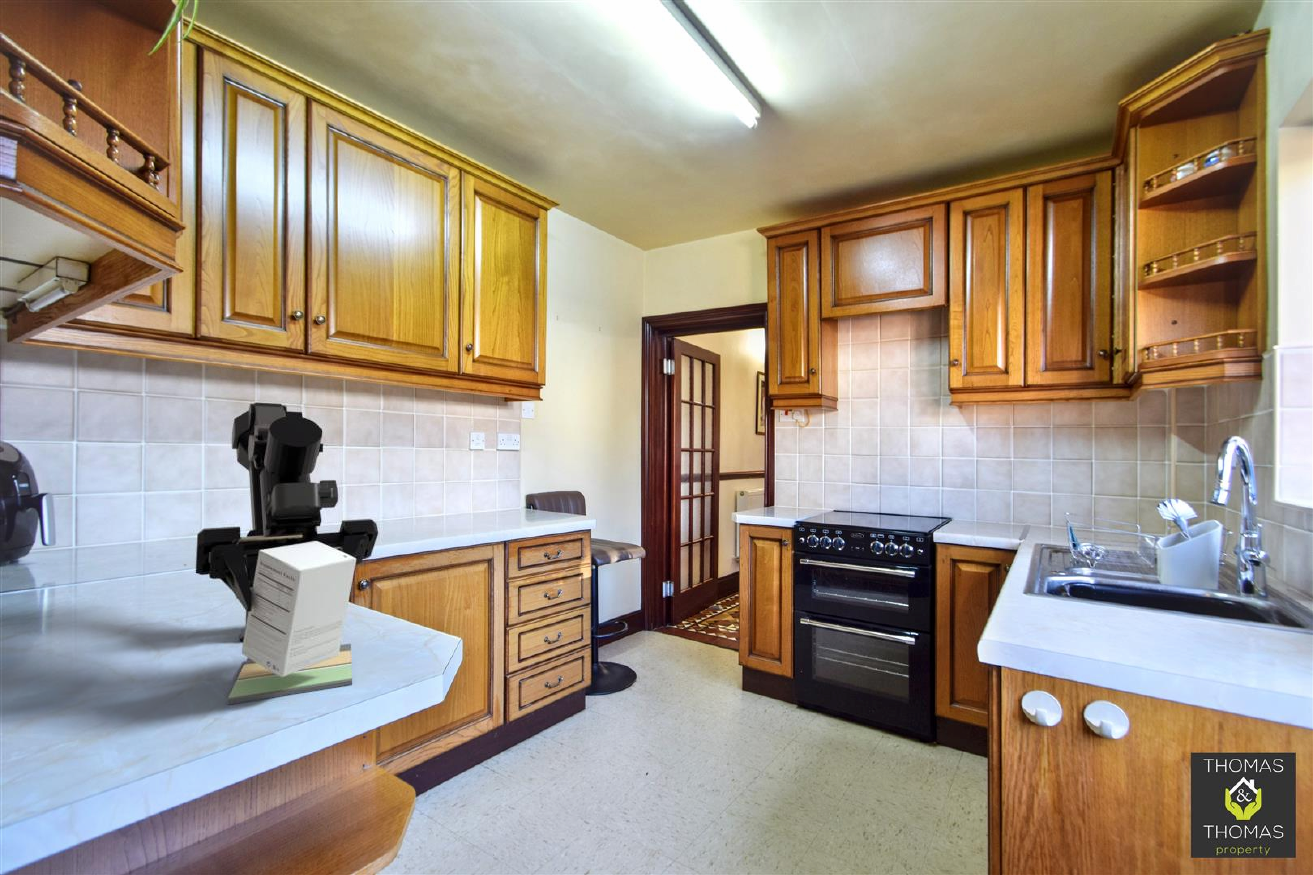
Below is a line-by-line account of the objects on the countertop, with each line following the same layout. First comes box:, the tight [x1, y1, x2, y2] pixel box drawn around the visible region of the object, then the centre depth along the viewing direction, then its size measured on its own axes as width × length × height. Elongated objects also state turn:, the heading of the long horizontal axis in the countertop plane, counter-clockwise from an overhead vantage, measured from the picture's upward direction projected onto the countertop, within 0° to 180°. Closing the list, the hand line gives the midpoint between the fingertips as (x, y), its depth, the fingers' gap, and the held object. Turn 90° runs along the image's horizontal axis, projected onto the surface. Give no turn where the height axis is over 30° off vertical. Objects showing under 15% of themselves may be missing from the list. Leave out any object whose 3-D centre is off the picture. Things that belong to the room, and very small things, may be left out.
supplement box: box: [241, 541, 356, 677], centre depth 67 cm, size 7×7×13 cm
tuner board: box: [227, 643, 353, 706], centre depth 72 cm, size 15×12×1 cm
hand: (298, 602), depth 67 cm, fingers closed on supplement box, 9 cm apart
